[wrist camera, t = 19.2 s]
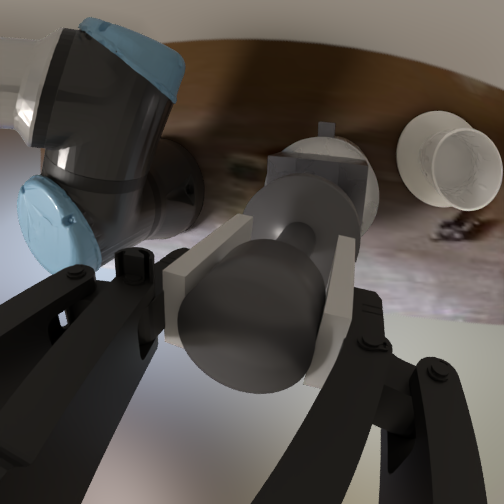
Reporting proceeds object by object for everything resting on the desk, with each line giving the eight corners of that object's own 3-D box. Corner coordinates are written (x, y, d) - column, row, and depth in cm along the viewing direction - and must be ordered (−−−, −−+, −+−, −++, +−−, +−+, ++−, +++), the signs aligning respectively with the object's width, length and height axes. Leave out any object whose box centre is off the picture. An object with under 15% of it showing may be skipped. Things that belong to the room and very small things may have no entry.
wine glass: (352, 255, 23) (333, 433, 9) (269, 243, 25) (158, 388, 11) (363, 168, 21) (383, 251, 7) (273, 159, 23) (132, 218, 8)
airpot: (364, 233, 41) (367, 307, 24) (289, 223, 43) (244, 287, 27) (374, 130, 36) (393, 128, 19) (295, 122, 38) (248, 116, 21)
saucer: (391, 197, 38) (392, 199, 37) (399, 103, 33) (400, 102, 32) (473, 212, 35) (476, 214, 34) (484, 122, 30) (488, 122, 29)
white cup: (400, 156, 35) (415, 164, 26) (442, 114, 31) (469, 111, 22) (440, 204, 35) (464, 227, 26) (481, 164, 31) (515, 176, 22)
